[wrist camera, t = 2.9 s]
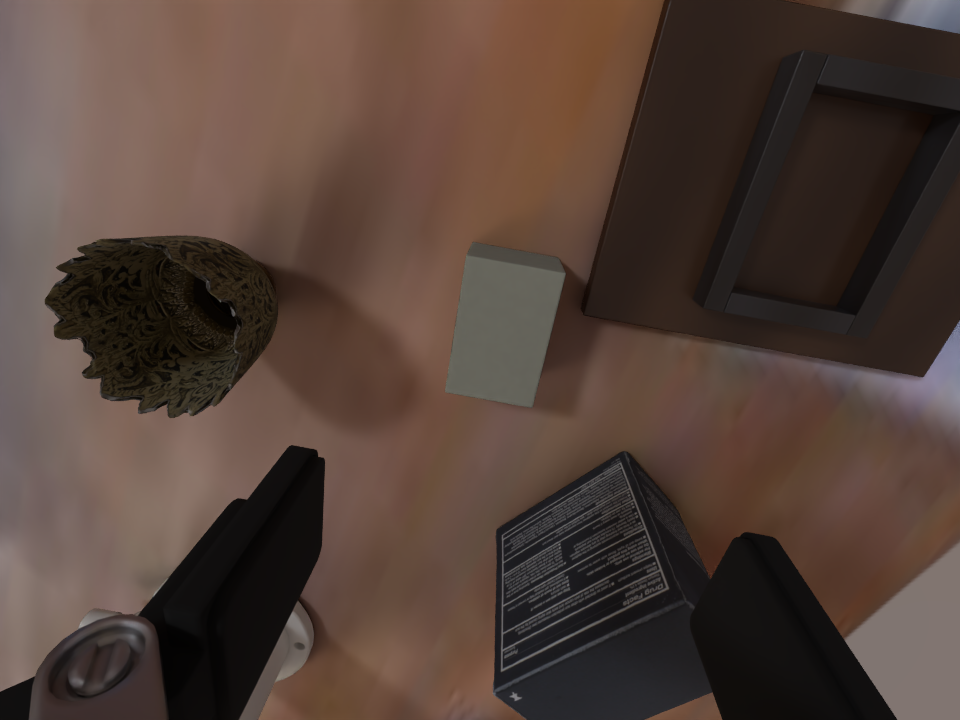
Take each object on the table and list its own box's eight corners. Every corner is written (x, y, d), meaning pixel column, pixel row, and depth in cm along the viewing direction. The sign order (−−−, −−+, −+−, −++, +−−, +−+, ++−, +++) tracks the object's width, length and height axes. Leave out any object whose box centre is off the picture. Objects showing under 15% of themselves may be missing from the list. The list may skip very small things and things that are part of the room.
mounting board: (580, 309, 24) (587, 325, 22) (667, -13, 19) (688, -37, 16) (908, 370, 25) (949, 391, 22) (1094, 68, 19) (1173, 56, 17)
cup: (157, 229, 24) (3, 260, 17) (286, 201, 23) (181, 221, 16) (216, 357, 27) (107, 431, 20) (333, 337, 26) (263, 406, 19)
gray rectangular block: (453, 364, 26) (444, 392, 23) (472, 241, 23) (466, 254, 20) (530, 378, 26) (532, 408, 23) (559, 257, 23) (566, 273, 20)
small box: (551, 584, 33) (568, 760, 23) (492, 528, 31) (482, 694, 21) (683, 512, 29) (765, 684, 20) (624, 446, 28) (684, 598, 18)
